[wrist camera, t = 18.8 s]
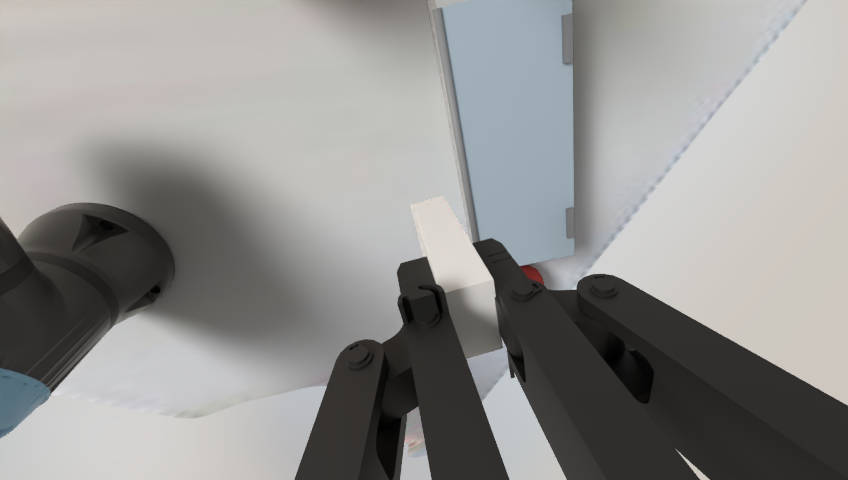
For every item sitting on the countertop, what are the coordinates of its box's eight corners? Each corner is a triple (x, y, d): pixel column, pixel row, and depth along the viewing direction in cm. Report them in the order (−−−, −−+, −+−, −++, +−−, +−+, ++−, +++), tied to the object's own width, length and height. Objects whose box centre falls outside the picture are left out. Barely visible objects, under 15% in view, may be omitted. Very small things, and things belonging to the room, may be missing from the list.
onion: (499, 290, 56) (518, 324, 49) (492, 262, 53) (510, 293, 46) (534, 279, 56) (557, 311, 49) (528, 249, 53) (553, 279, 46)
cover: (479, 277, 46) (576, 257, 45) (432, 9, 31) (574, -28, 30) (477, 270, 47) (571, 251, 46) (431, 10, 32) (568, -26, 32)
